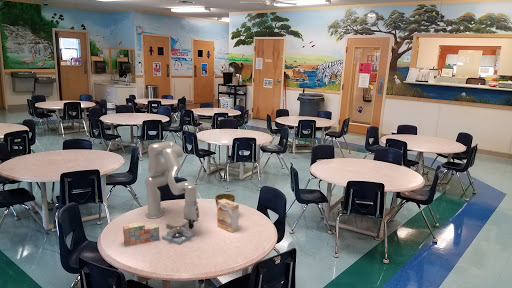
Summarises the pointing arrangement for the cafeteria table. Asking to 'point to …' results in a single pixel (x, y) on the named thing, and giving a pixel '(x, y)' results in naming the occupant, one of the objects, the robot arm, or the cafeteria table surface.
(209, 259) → the cafeteria table surface
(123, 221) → the cafeteria table surface
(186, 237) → the stand
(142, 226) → the stack of blocks
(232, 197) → the plant pot
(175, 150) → the robot arm
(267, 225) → the cafeteria table surface
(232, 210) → the coffeecake box
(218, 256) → the cafeteria table surface
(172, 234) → the capstan
